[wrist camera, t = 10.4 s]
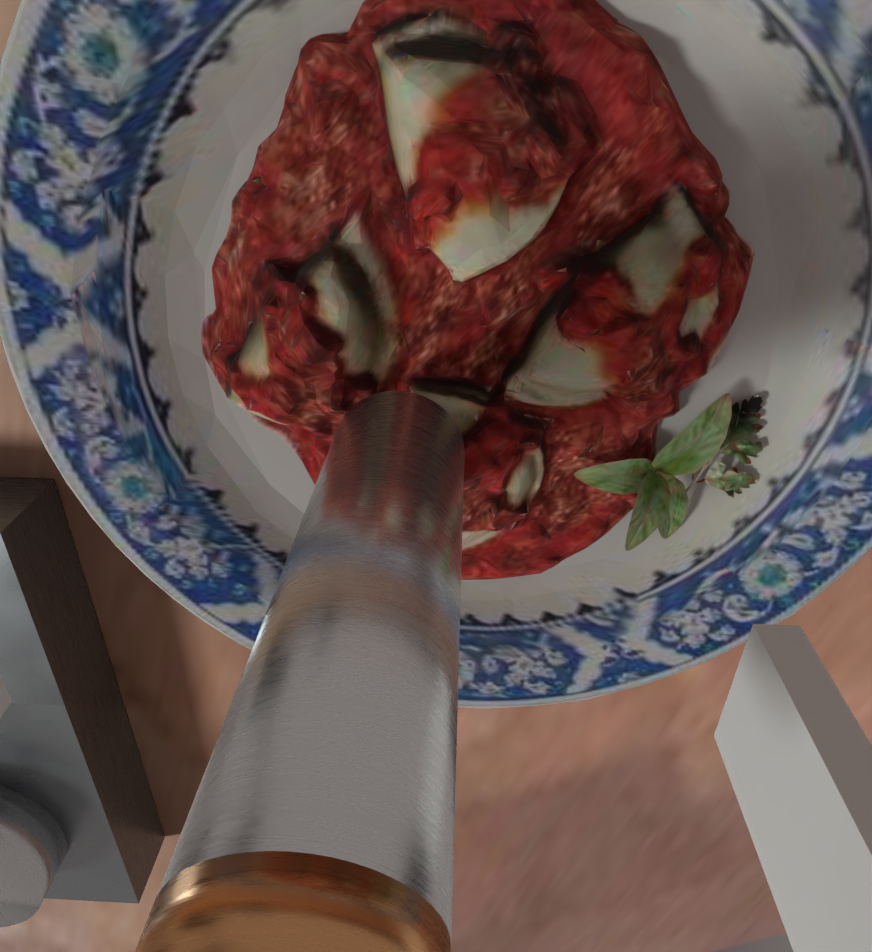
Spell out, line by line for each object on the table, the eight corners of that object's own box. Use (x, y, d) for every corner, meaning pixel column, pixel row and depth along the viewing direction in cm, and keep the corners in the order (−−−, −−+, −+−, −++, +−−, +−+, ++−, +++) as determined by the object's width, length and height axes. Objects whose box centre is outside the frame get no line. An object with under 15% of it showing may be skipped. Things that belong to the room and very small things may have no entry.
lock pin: (330, 388, 18) (76, 946, 6) (467, 393, 17) (454, 971, 6) (337, 502, 19) (149, 1095, 8) (462, 508, 19) (442, 1117, 8)
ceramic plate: (-126, 335, 20) (-210, 374, 18) (534, -786, 11) (555, -1059, 8) (467, 753, 29) (467, 818, 27) (1130, 358, 19) (1230, 403, 17)
